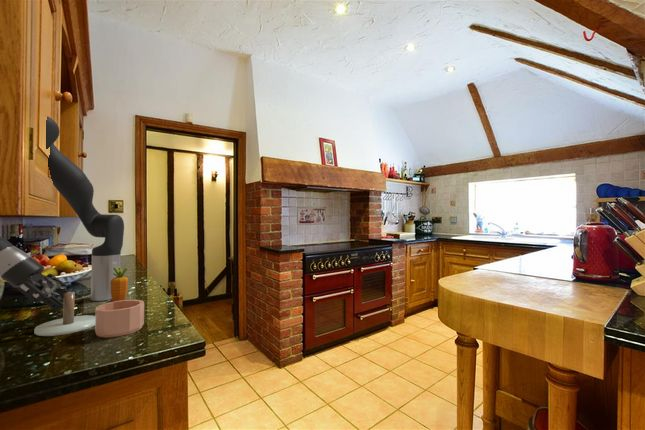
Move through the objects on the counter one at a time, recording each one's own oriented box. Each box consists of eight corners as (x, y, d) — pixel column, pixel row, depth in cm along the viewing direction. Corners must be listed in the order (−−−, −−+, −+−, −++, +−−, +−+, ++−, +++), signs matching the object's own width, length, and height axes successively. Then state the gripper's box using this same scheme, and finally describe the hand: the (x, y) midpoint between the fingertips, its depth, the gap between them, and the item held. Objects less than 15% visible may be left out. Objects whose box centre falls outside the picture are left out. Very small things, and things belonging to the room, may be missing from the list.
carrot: (130, 308, 101) (131, 265, 101) (119, 312, 96) (120, 267, 96) (117, 307, 102) (118, 265, 102) (106, 312, 97) (107, 267, 97)
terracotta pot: (93, 329, 82) (94, 304, 82) (139, 320, 89) (139, 297, 89) (96, 341, 73) (97, 313, 73) (146, 330, 81) (147, 305, 81)
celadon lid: (36, 326, 84) (37, 292, 84) (97, 316, 93) (97, 285, 94) (31, 341, 74) (33, 302, 74) (100, 328, 83) (101, 293, 83)
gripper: (13, 259, 74) (68, 300, 78) (41, 253, 87) (87, 288, 91) (-16, 281, 72) (42, 322, 76) (17, 272, 85) (65, 307, 89)
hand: (67, 303), depth 83 cm, fingers open, 8 cm apart
